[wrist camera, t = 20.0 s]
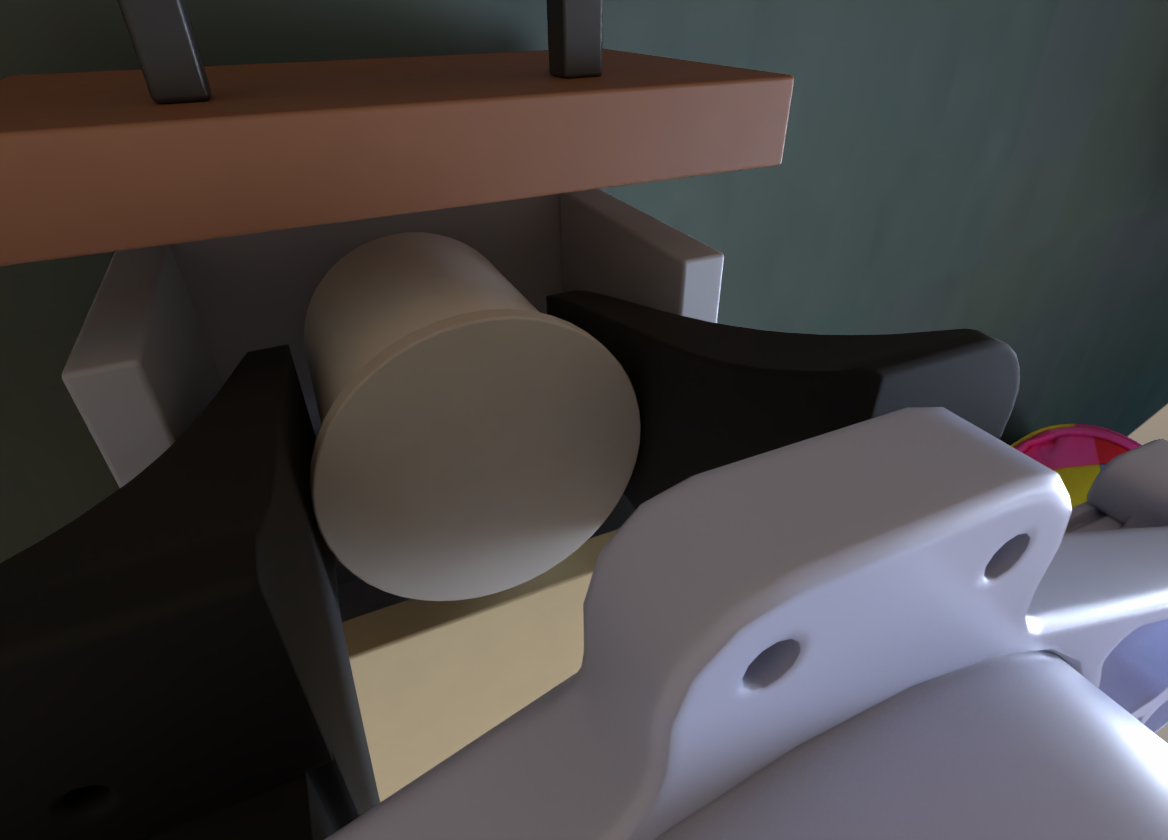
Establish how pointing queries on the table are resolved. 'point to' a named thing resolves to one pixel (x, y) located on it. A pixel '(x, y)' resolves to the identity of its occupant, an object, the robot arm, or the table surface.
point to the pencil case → (1075, 453)
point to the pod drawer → (349, 196)
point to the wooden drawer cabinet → (463, 664)
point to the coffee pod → (457, 423)
